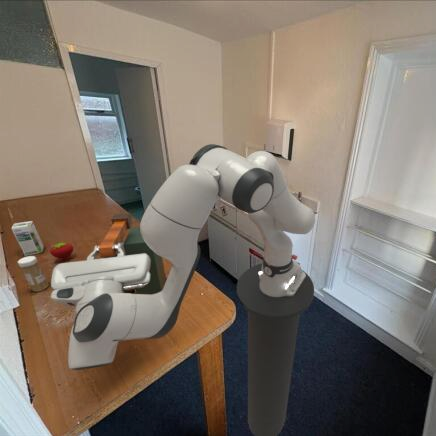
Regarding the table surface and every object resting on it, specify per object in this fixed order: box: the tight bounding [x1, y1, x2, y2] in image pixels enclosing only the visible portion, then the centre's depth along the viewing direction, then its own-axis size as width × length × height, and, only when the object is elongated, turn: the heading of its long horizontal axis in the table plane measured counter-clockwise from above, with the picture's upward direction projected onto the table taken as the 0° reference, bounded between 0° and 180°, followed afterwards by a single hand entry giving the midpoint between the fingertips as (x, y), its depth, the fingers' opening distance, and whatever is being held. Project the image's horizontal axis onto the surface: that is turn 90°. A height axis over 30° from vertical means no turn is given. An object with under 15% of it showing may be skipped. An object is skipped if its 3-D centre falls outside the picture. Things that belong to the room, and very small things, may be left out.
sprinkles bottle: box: [17, 255, 50, 293], centre depth 86 cm, size 5×5×14 cm
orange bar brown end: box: [98, 212, 133, 259], centre depth 70 cm, size 20×4×4 cm, turn 21°
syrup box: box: [11, 220, 45, 257], centre depth 105 cm, size 6×6×14 cm
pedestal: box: [123, 226, 167, 295], centre depth 87 cm, size 12×8×26 cm, turn 21°
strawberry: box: [49, 241, 74, 261], centre depth 103 cm, size 6×8×10 cm
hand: (108, 245), depth 64 cm, fingers closed on orange bar brown end, 3 cm apart
